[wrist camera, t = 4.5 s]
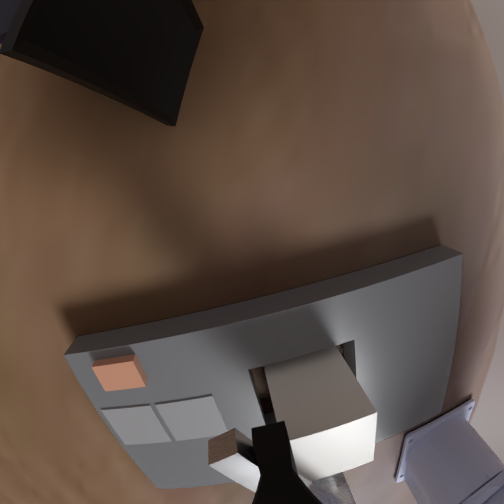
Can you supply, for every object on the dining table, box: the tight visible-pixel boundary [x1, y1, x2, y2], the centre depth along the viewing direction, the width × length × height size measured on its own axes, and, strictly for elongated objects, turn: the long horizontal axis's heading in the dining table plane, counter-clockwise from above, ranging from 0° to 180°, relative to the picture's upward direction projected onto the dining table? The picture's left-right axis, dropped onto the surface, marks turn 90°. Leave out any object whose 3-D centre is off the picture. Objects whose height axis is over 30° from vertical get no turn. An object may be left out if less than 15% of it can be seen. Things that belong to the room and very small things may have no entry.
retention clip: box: [208, 428, 356, 504], centre depth 13 cm, size 12×2×6 cm, turn 35°
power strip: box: [64, 245, 463, 489], centre depth 16 cm, size 13×22×3 cm, turn 102°
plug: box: [263, 346, 377, 481], centre depth 14 cm, size 4×4×6 cm
